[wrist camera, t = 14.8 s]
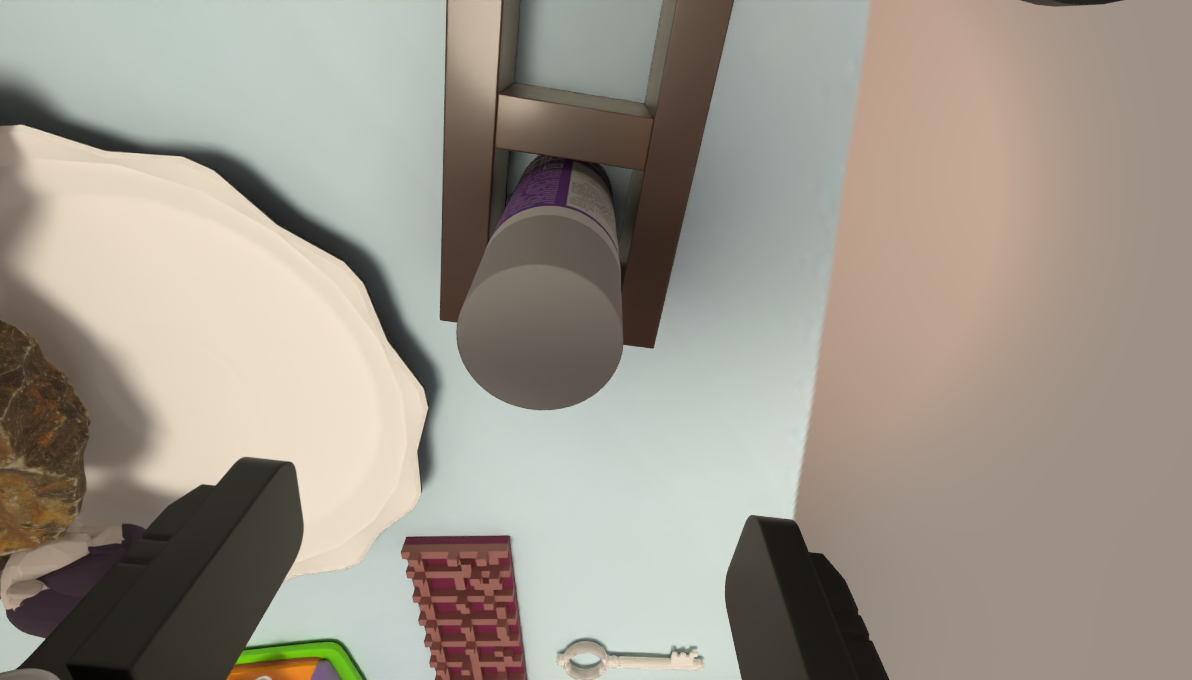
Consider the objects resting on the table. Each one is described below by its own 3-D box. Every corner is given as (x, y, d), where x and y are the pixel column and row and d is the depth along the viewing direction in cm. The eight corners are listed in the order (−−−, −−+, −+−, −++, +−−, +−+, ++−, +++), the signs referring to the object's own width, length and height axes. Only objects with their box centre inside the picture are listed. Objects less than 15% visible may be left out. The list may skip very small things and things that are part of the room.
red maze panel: (445, 693, 49) (439, 717, 47) (406, 537, 40) (397, 560, 38) (528, 692, 49) (526, 716, 47) (509, 536, 40) (505, 559, 38)
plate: (-212, 61, 25) (-286, 64, 23) (454, 196, 28) (443, 209, 26) (-11, 527, 39) (-46, 555, 37) (420, 584, 42) (411, 614, 40)
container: (516, 237, 29) (452, 407, 16) (520, 142, 27) (448, 250, 14) (606, 246, 29) (616, 421, 16) (617, 152, 27) (639, 269, 14)
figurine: (-102, 507, 34) (193, 526, 40) (-159, 627, 32) (163, 629, 37) (-228, 497, 26) (166, 523, 32) (-318, 659, 23) (125, 653, 29)
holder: (732, -103, 22) (765, -135, 18) (645, 303, 31) (653, 349, 27) (479, -152, 22) (450, -198, 17) (461, 278, 30) (439, 320, 26)
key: (557, 638, 45) (555, 670, 47) (556, 649, 44) (554, 681, 46) (706, 643, 45) (698, 675, 47) (709, 654, 45) (700, 686, 47)
